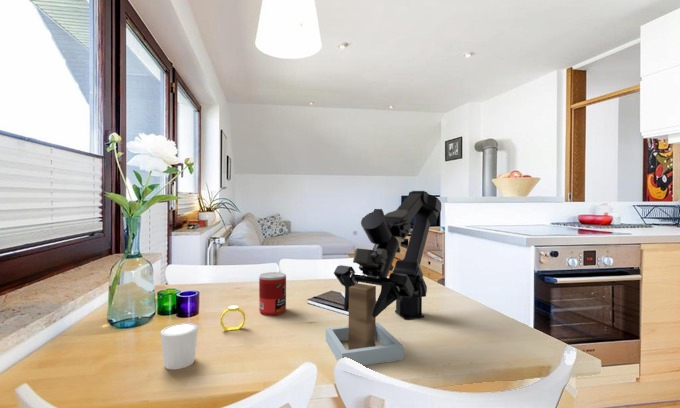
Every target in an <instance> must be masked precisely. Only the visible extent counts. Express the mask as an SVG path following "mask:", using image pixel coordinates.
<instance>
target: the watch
mask: <svg viewBox="0 0 680 408" xmlns="http://www.w3.org/2000/svg"><path fill="white" fill-rule="evenodd" d="M237 311H238V312H240V313H241V315H242V317H243V320H242V322H241V324H239V326H237V327H236V326H235V327H234V326H233V327H227V326H226V325H225V324H224V322H223V318H224V316H225V314H226V313H229V312H237ZM245 322H246V313H245V312H244V311H243V309H242V308H240V306H239V305H233V304H232V305H229V306H228V307H227V309H225V310H223V312H222V314H221V316H220V325H221V327H222V329H224V330H225V331H226V332H229V331H230V332H231V331H239V330H240V329H242V327H243V326H244V324H245Z"/></svg>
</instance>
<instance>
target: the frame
mask: <svg viewBox="0 0 680 408" xmlns="http://www.w3.org/2000/svg"><path fill="white" fill-rule="evenodd" d="M348 334H349V325H344V326H343V325H342V326H334V327H333V326H332V327H327V328H325V342H326V344H327V346H328V347H329V349H330V351H331V353H332V354H333V355H334V358H335V360H336V361H337V362H338V360H339V359H341V358H344V357H347V358H350V359H352V360H354V361H356V362H358V363H360V364H362V365H364V366H370V365H375V364H383V363H388V362H389V363H390V362H397V361H403V360H404V344H403V343H402V342H400V341H399V340H398V339H397V338H396V337H394V336H393V334H391V332H389V331H388V330H387V329H386V328H385V327H384V326H383V325H382V324H380V322H376V327H375V339H377V340H378V341H379V342H380V344H382V345H375V346H374V347H367V348H359V349H352V350H348V349H346V348H345V347H344V345H343V344H342V342H344V341H348Z"/></svg>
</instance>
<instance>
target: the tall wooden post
mask: <svg viewBox="0 0 680 408" xmlns="http://www.w3.org/2000/svg"><path fill="white" fill-rule="evenodd" d="M376 297H377V285H376V286H375V285H372V284H366V283H358V284H356V285H354V286H351V287H349V309H348V326H349V334H348V340H347V341H348V344H347V345H348V346H347V347H348V349H347V350H352V349H359V348H367V347H374V346H376V337H375V327H376V323H377V322H376V317H375V318H374V317H373V316H372V313H373V310H374V307H375V305H376V302H377V298H376Z"/></svg>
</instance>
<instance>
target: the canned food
mask: <svg viewBox="0 0 680 408" xmlns="http://www.w3.org/2000/svg"><path fill="white" fill-rule="evenodd" d="M258 280H259V281H258V284H259V285H258V289H259V290H258V299H259V300H258V302H259V303H258V304H259V307H258V308H259V309H258V310H259V313H260V314H261V315H263V316H279V315H280V316H281V315H282V314H284V313H285V312H286V309H287V275H286V273H283V272H280V271H278V272H277V271H275V272H274V271H273V272H271V271H270V272H264V273H261V274H259V277H258Z"/></svg>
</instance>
